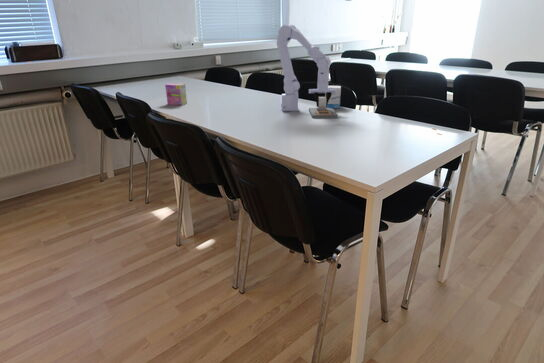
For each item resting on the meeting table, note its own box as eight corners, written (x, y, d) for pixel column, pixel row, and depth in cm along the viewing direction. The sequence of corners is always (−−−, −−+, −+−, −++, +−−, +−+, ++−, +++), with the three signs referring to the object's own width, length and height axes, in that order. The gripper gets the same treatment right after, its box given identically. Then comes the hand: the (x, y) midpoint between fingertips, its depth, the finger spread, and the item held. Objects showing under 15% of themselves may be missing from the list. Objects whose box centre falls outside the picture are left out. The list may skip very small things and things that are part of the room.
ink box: (339, 108, 213) (340, 87, 209) (324, 108, 215) (325, 87, 210) (339, 105, 221) (341, 85, 216) (325, 105, 222) (326, 85, 218)
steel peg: (318, 113, 203) (318, 98, 200) (317, 111, 207) (318, 96, 204) (325, 113, 203) (326, 98, 200) (324, 111, 207) (325, 96, 204)
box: (167, 104, 226) (165, 84, 221) (172, 102, 231) (170, 82, 226) (181, 105, 222) (179, 85, 218) (187, 103, 227) (185, 83, 223)
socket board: (312, 117, 192) (312, 114, 192) (308, 110, 209) (308, 107, 208) (337, 117, 192) (337, 114, 192) (332, 110, 209) (332, 107, 208)
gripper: (310, 82, 195) (309, 108, 200) (338, 82, 195) (336, 108, 200) (308, 80, 201) (307, 105, 206) (335, 80, 201) (334, 105, 207)
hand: (321, 106), depth 204 cm, fingers closed on steel peg, 4 cm apart
